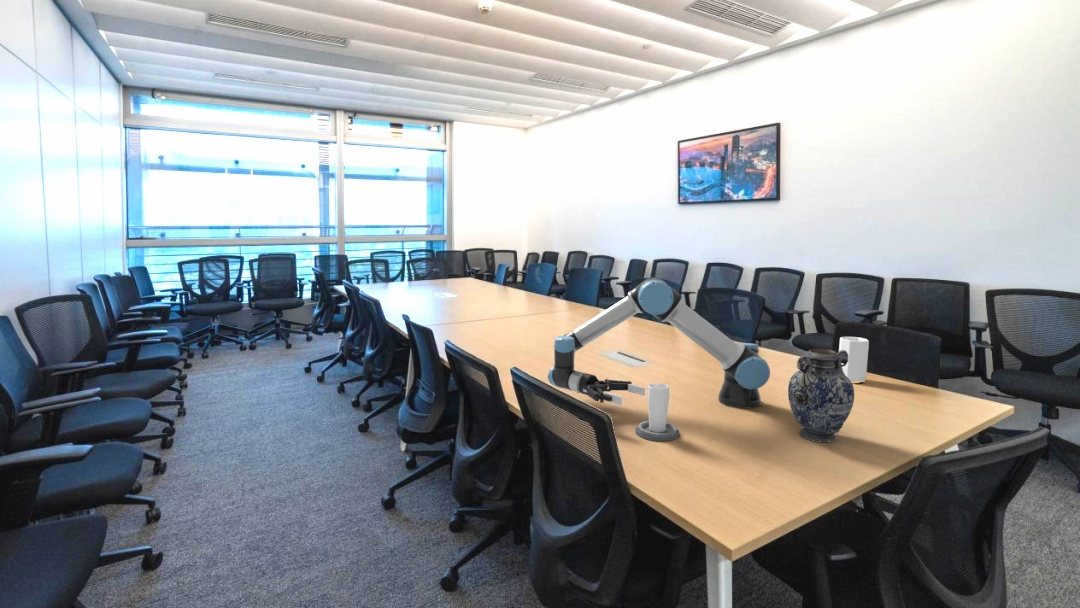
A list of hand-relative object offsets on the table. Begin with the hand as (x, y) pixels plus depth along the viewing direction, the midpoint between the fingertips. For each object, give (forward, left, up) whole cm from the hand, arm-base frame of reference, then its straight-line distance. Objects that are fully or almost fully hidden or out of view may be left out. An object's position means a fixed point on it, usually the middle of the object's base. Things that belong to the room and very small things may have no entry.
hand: (633, 396), depth 179 cm
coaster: (-9, +4, -10) cm, 14 cm away
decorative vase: (-58, -10, -11) cm, 60 cm away
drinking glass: (-9, +4, -10) cm, 14 cm away
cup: (-82, -85, -11) cm, 118 cm away
